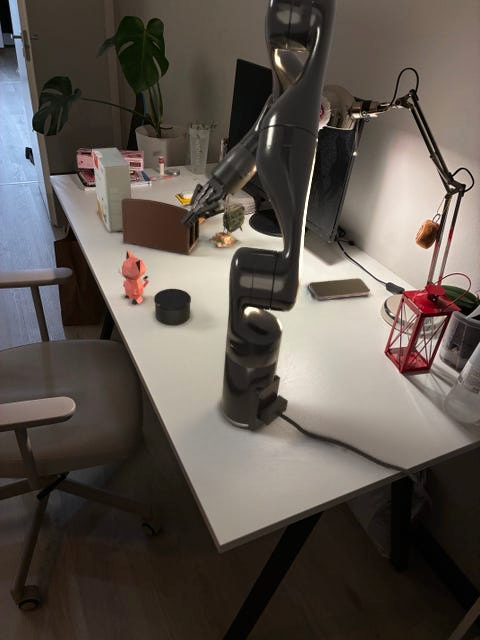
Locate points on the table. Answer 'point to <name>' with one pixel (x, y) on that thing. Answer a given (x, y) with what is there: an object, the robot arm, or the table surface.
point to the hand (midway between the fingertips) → (184, 225)
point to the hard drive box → (111, 185)
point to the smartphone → (339, 288)
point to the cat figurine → (133, 278)
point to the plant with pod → (230, 225)
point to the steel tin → (172, 306)
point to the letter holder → (157, 226)
